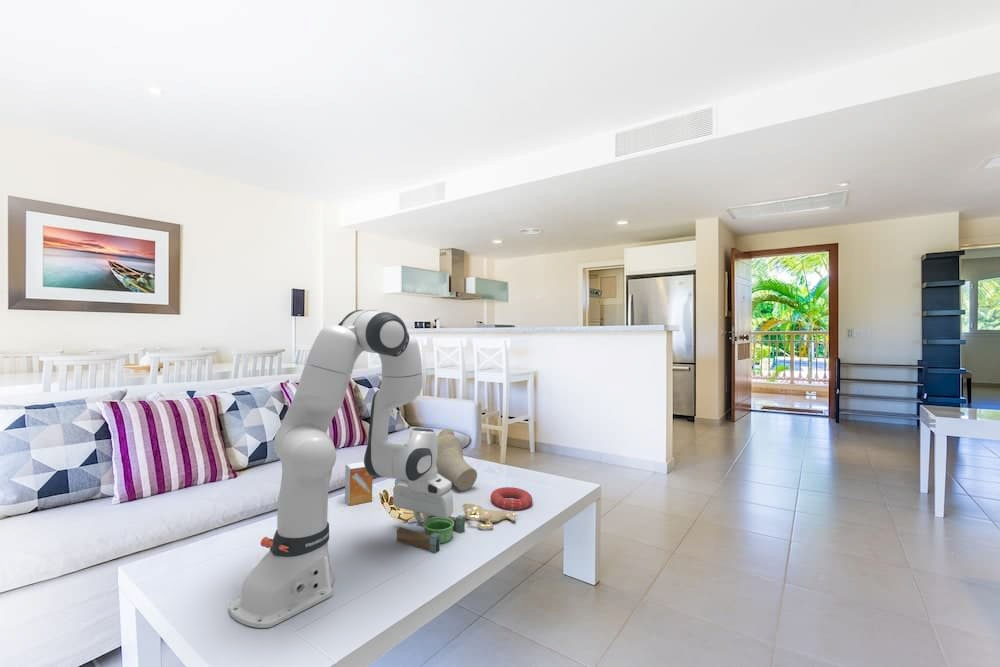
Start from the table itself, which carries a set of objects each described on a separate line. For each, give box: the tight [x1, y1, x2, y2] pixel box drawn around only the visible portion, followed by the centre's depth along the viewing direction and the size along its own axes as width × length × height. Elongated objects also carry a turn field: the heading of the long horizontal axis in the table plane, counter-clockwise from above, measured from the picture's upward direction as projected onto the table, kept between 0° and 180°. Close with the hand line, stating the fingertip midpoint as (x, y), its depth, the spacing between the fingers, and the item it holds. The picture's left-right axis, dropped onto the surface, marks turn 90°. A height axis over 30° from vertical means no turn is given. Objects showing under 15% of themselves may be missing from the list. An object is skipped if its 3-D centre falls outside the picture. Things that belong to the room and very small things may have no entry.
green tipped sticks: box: [396, 514, 466, 554], centre depth 134 cm, size 16×14×4 cm
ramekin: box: [423, 517, 454, 544], centre depth 133 cm, size 9×9×4 cm
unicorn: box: [461, 503, 522, 530], centre depth 148 cm, size 20×4×17 cm
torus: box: [490, 486, 533, 511], centre depth 161 cm, size 16×14×4 cm
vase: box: [436, 428, 478, 492], centre depth 177 cm, size 23×23×30 cm
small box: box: [344, 461, 374, 506], centre depth 160 cm, size 8×6×13 cm
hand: (421, 526), depth 136 cm, fingers closed
